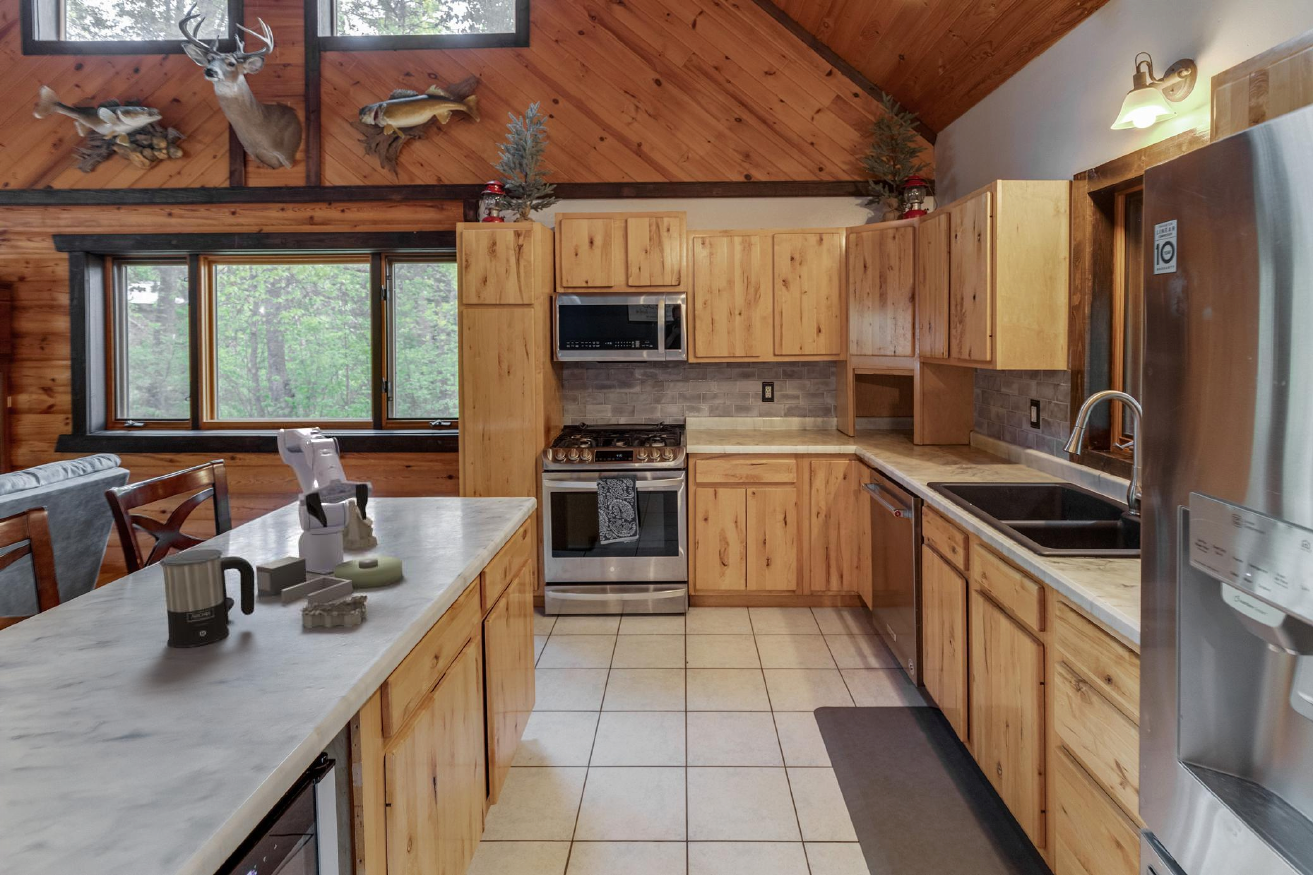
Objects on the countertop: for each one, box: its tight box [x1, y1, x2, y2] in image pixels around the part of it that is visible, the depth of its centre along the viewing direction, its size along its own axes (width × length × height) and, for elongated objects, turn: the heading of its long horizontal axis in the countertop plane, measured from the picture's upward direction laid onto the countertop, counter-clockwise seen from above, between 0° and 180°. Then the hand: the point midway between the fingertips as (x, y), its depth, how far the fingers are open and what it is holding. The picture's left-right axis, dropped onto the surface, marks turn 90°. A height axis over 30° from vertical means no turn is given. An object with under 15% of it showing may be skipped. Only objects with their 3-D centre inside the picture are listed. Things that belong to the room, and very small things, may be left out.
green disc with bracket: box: [281, 556, 403, 606], centre depth 156 cm, size 14×26×4 cm, turn 156°
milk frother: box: [159, 549, 255, 648], centre depth 130 cm, size 14×16×15 cm
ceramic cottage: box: [342, 499, 378, 551], centre depth 192 cm, size 16×16×15 cm
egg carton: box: [299, 594, 368, 628], centre depth 135 cm, size 11×8×4 cm
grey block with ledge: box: [255, 555, 308, 597], centre depth 153 cm, size 8×5×6 cm, turn 156°
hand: (345, 520), depth 151 cm, fingers open, 7 cm apart
